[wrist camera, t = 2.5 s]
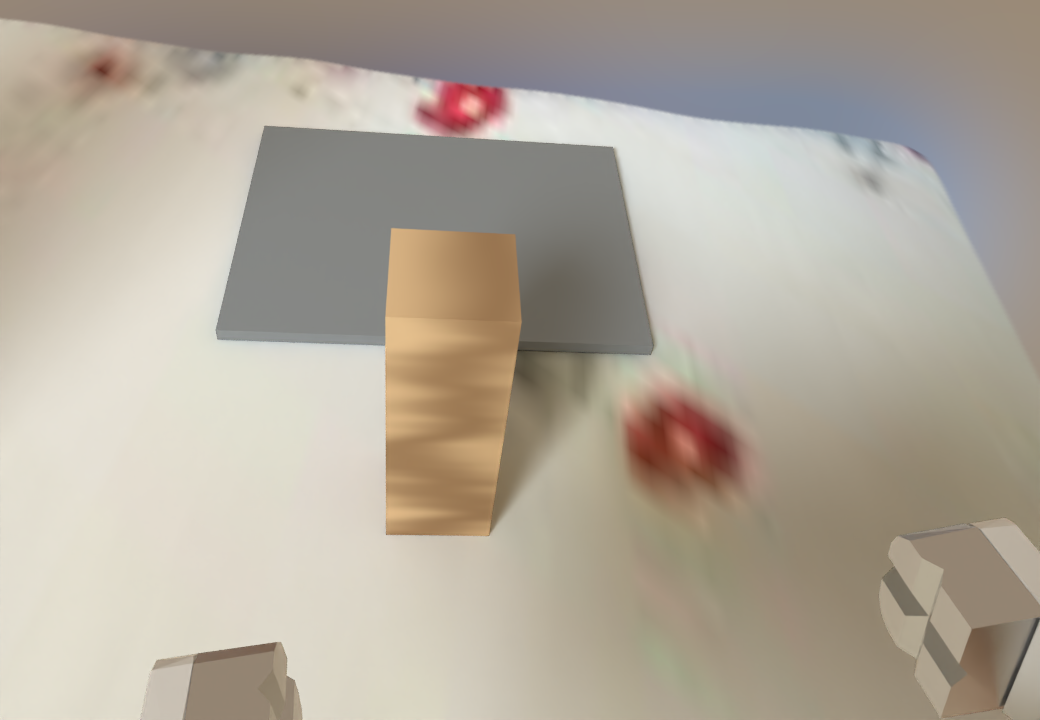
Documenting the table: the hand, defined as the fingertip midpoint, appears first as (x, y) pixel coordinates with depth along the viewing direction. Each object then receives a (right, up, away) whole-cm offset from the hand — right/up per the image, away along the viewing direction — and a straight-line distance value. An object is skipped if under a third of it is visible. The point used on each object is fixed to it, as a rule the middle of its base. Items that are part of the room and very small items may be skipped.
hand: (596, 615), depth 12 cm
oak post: (-4, -2, +25) cm, 25 cm away
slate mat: (-5, +10, +36) cm, 37 cm away
